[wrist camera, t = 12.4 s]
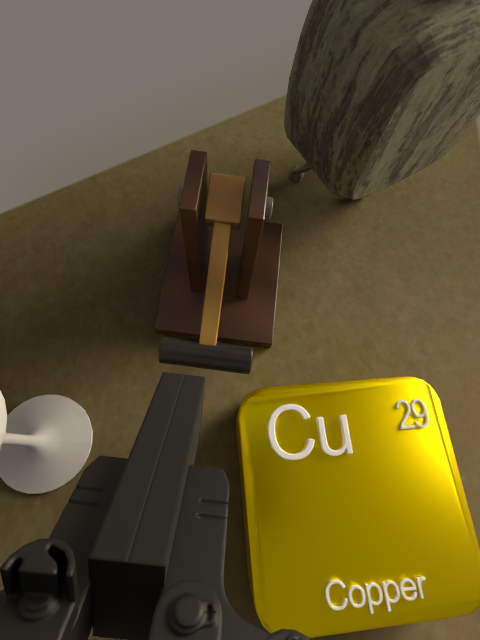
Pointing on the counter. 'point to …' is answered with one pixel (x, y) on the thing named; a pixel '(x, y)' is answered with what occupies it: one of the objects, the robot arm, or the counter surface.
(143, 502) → the robot arm
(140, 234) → the counter surface
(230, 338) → the wooden lever stand
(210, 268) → the lever
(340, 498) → the element tile
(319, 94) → the tabletop clock
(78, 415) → the wineglass
